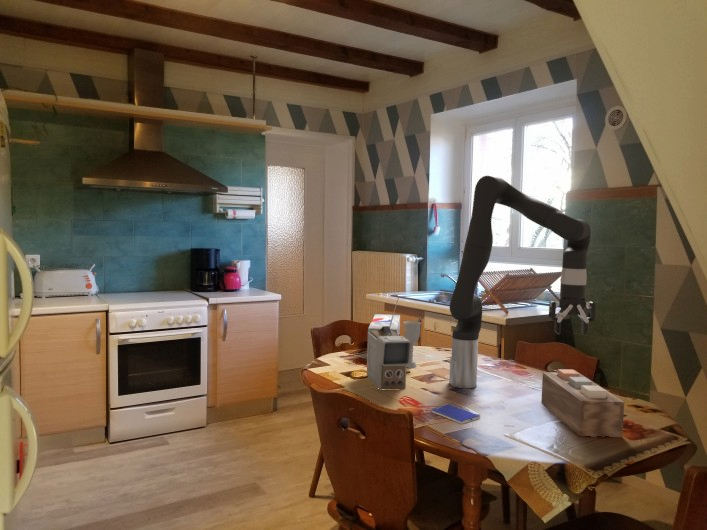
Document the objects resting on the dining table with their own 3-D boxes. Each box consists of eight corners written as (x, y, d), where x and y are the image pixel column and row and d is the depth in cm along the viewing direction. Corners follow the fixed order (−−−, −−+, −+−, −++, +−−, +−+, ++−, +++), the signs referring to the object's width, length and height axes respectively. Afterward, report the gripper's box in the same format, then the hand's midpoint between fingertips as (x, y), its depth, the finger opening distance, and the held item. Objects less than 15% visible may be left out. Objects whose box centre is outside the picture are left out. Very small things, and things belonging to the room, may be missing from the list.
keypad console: (579, 436, 155) (581, 401, 154) (541, 402, 185) (542, 372, 184) (622, 437, 155) (624, 401, 155) (577, 402, 185) (579, 372, 185)
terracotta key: (562, 388, 176) (563, 373, 176) (556, 383, 181) (557, 369, 181) (578, 388, 176) (579, 373, 176) (572, 384, 181) (573, 369, 181)
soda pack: (396, 361, 236) (397, 328, 235) (366, 360, 237) (367, 327, 236) (400, 341, 276) (400, 313, 275) (374, 340, 278) (374, 312, 277)
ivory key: (587, 407, 158) (588, 390, 158) (580, 401, 163) (581, 385, 163) (605, 407, 158) (606, 390, 158) (597, 401, 163) (598, 385, 163)
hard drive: (431, 408, 173) (462, 420, 163) (449, 403, 178) (480, 415, 168) (431, 413, 173) (462, 425, 163) (449, 408, 178) (480, 420, 168)
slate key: (574, 397, 167) (575, 381, 167) (568, 392, 172) (568, 376, 172) (591, 397, 167) (592, 381, 167) (584, 392, 172) (585, 377, 172)
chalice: (422, 366, 228) (424, 322, 227) (415, 369, 223) (416, 324, 221) (406, 363, 232) (408, 320, 231) (399, 366, 226) (400, 322, 225)
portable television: (380, 393, 190) (383, 306, 188) (365, 374, 214) (367, 296, 211) (414, 392, 193) (417, 305, 191) (395, 373, 216) (397, 296, 214)
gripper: (555, 283, 173) (552, 336, 174) (601, 284, 173) (598, 337, 174) (546, 281, 180) (544, 331, 181) (590, 281, 180) (587, 332, 182)
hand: (570, 334), depth 178 cm, fingers open, 7 cm apart
